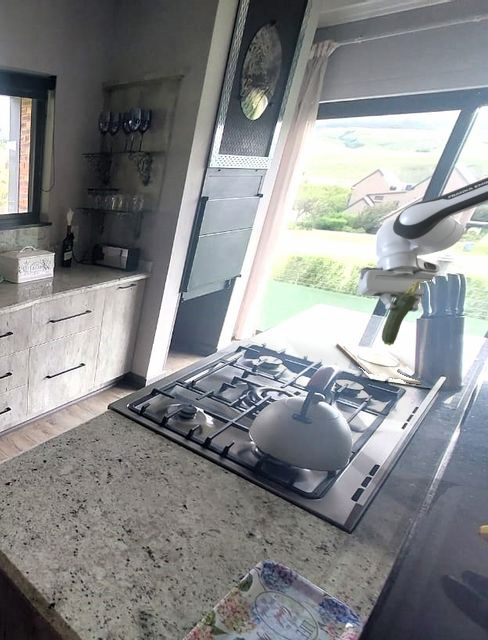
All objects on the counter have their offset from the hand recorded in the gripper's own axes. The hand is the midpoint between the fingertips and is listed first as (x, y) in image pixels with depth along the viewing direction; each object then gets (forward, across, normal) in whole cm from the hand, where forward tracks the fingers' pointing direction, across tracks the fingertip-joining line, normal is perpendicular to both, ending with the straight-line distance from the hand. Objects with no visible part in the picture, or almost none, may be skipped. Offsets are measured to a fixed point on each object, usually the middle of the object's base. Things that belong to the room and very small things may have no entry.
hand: (402, 309), depth 120 cm
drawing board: (+14, -1, +10) cm, 17 cm away
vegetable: (+8, 0, +9) cm, 12 cm away
